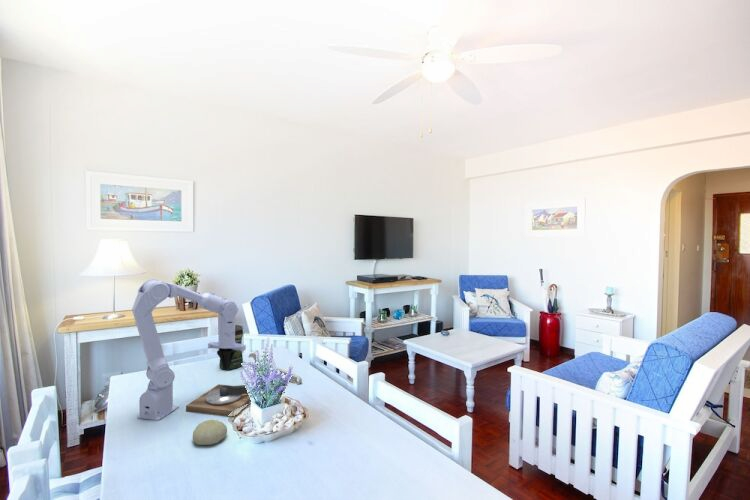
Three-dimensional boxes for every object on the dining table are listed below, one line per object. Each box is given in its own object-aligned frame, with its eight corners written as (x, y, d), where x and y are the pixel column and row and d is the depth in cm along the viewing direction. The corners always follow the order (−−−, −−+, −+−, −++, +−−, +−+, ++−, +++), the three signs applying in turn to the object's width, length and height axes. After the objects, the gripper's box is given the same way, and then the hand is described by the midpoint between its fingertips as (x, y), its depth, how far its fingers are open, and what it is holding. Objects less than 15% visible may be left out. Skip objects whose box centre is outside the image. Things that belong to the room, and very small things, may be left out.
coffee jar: (226, 372, 158) (226, 329, 157) (216, 367, 162) (216, 326, 162) (246, 365, 165) (246, 325, 165) (235, 362, 170) (236, 322, 169)
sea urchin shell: (218, 420, 113) (225, 408, 109) (225, 445, 109) (233, 434, 105) (186, 430, 106) (193, 418, 102) (193, 457, 103) (200, 446, 98)
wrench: (298, 392, 146) (247, 368, 160) (301, 390, 147) (250, 367, 162) (300, 372, 145) (248, 351, 160) (303, 371, 146) (252, 350, 161)
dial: (201, 406, 121) (201, 396, 121) (209, 391, 132) (209, 382, 132) (246, 402, 124) (246, 392, 124) (249, 388, 136) (249, 379, 136)
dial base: (234, 417, 119) (234, 410, 118) (185, 411, 122) (185, 404, 122) (261, 394, 136) (261, 388, 136) (218, 389, 140) (218, 383, 139)
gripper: (250, 331, 139) (249, 366, 139) (216, 328, 141) (216, 363, 142) (239, 335, 132) (239, 372, 132) (204, 333, 135) (204, 369, 135)
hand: (226, 368), depth 137 cm, fingers closed
